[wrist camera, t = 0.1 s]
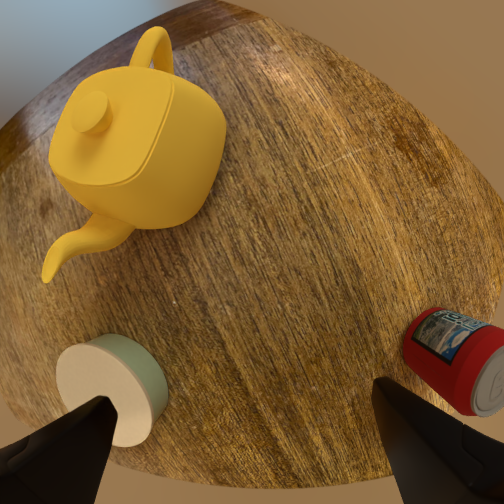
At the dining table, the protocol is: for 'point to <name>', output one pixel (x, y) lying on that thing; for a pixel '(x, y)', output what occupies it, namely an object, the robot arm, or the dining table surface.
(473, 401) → the beverage can
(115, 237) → the teapot
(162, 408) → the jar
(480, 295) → the dining table surface
